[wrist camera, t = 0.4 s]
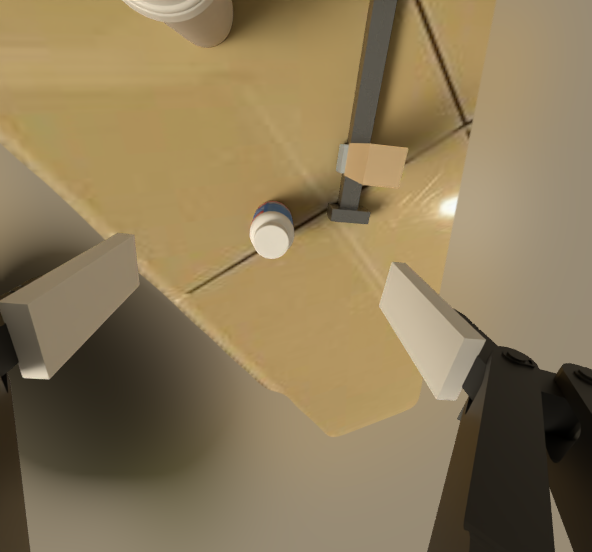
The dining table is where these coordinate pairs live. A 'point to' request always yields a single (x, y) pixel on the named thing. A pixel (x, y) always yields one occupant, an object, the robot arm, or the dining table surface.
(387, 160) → the carriage
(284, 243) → the pill bottle
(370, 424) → the dining table surface
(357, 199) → the rail
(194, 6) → the coffee cup
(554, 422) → the robot arm
